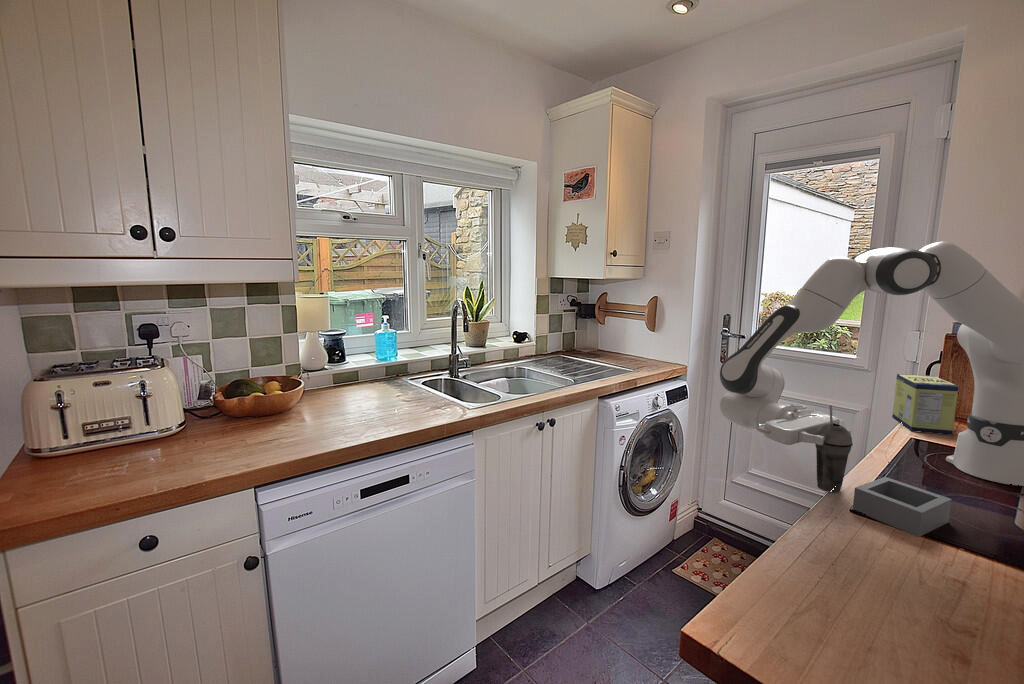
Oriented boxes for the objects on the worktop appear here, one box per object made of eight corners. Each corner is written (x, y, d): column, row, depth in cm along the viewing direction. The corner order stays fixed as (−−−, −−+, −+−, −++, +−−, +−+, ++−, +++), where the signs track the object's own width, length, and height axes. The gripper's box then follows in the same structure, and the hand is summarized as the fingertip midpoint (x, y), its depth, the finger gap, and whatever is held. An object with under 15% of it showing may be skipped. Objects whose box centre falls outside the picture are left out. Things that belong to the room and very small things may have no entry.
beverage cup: (854, 496, 103) (863, 411, 100) (818, 494, 105) (826, 409, 102) (838, 482, 110) (846, 401, 107) (805, 480, 112) (812, 400, 109)
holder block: (882, 497, 102) (884, 476, 102) (948, 522, 92) (951, 499, 91) (852, 509, 98) (854, 487, 97) (918, 537, 87) (921, 512, 87)
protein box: (929, 420, 154) (934, 375, 152) (953, 435, 140) (960, 386, 138) (890, 417, 158) (896, 373, 156) (910, 431, 144) (916, 383, 141)
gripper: (752, 415, 112) (809, 432, 100) (804, 403, 121) (863, 418, 109) (750, 439, 113) (807, 459, 101) (802, 426, 122) (860, 443, 110)
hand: (836, 438), depth 105 cm, fingers open, 8 cm apart
